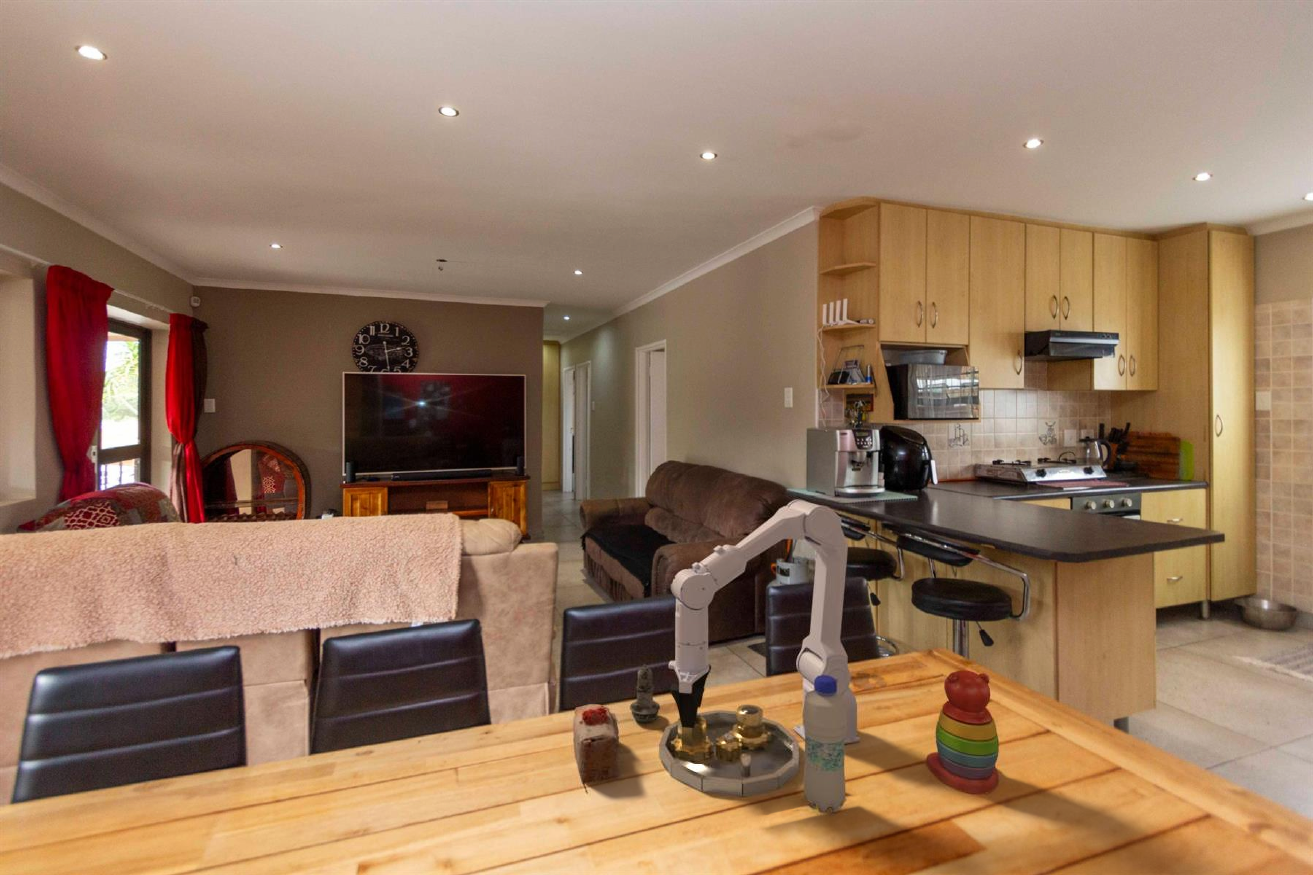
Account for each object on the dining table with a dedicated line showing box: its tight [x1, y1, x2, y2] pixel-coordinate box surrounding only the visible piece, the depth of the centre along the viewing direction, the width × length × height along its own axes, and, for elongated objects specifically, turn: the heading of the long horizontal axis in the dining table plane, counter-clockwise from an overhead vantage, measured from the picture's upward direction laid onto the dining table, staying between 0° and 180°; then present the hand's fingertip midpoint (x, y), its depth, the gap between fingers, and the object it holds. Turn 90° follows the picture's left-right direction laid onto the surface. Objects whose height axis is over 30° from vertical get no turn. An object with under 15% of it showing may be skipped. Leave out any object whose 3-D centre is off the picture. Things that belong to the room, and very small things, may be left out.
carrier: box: [658, 704, 801, 797], centre depth 110 cm, size 24×24×7 cm
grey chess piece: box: [629, 663, 661, 723], centre depth 123 cm, size 6×6×12 cm
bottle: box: [802, 675, 848, 813], centre depth 98 cm, size 7×7×20 cm
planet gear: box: [671, 715, 713, 761], centre depth 112 cm, size 7×7×5 cm
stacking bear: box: [925, 669, 1000, 795], centre depth 105 cm, size 11×10×18 cm
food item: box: [572, 703, 621, 789], centre depth 109 cm, size 14×8×10 cm, turn 14°
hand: (691, 716), depth 112 cm, fingers open, 7 cm apart
